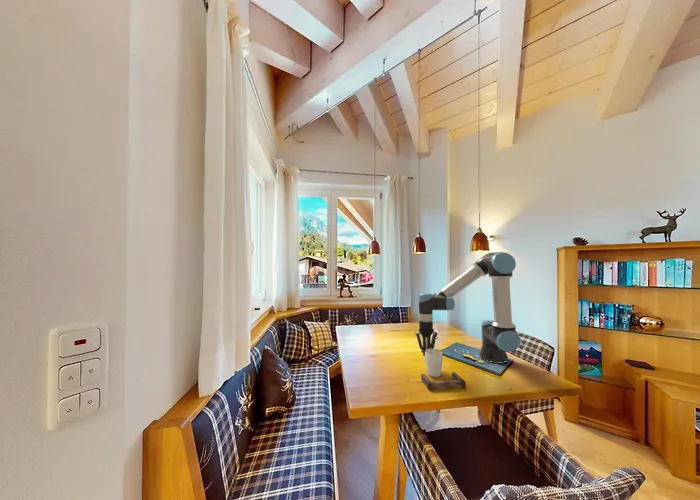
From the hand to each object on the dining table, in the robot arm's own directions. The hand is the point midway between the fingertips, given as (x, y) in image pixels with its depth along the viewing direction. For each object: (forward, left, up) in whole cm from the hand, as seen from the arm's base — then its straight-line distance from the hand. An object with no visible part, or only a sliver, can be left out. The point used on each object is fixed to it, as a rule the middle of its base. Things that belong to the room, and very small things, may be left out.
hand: (426, 361), depth 147 cm
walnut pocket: (0, +21, -2) cm, 22 cm away
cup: (0, +10, -3) cm, 11 cm away
